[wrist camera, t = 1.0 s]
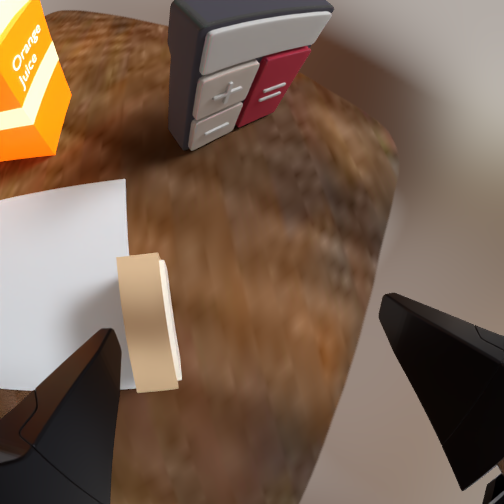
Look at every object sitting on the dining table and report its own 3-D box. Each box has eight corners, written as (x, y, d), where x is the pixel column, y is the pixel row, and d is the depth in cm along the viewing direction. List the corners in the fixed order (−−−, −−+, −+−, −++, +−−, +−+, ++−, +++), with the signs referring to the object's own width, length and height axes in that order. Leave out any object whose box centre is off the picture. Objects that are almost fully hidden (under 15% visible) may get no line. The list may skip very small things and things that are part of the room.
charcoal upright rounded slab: (187, 158, 26) (207, 35, 12) (164, 126, 26) (169, -1, 11) (277, 114, 29) (344, 13, 15) (254, 86, 29) (305, -19, 15)
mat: (148, 386, 22) (148, 387, 22) (1, 387, 18) (-1, 388, 18) (125, 180, 24) (125, 178, 24) (-14, 204, 20) (-16, 203, 20)
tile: (180, 360, 23) (183, 387, 16) (148, 363, 23) (137, 392, 15) (166, 266, 24) (163, 252, 17) (134, 269, 23) (116, 257, 16)
